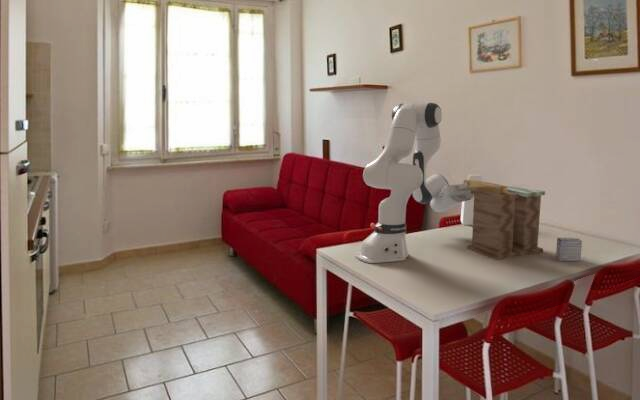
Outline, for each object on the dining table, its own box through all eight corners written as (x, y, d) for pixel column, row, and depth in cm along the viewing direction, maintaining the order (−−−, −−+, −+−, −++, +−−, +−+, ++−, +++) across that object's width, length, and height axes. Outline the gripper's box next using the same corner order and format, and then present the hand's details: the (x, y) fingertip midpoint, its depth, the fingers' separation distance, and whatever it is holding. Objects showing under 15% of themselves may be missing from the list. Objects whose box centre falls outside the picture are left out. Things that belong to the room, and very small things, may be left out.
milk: (483, 220, 260) (485, 173, 255) (486, 225, 249) (488, 176, 244) (460, 220, 262) (462, 173, 257) (462, 225, 251) (464, 176, 246)
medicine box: (575, 258, 191) (577, 237, 190) (580, 261, 187) (582, 240, 186) (555, 258, 192) (556, 237, 191) (559, 261, 188) (561, 240, 186)
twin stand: (496, 259, 191) (499, 196, 186) (466, 248, 207) (469, 190, 203) (542, 252, 200) (546, 191, 196) (510, 241, 217) (514, 185, 212)
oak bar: (499, 193, 191) (499, 186, 191) (463, 186, 211) (463, 180, 211) (506, 193, 193) (507, 185, 192) (470, 186, 213) (470, 179, 212)
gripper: (434, 189, 217) (451, 178, 205) (470, 186, 225) (488, 175, 213) (438, 202, 216) (455, 191, 203) (474, 199, 223) (493, 188, 211)
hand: (472, 183), depth 208 cm, fingers closed on oak bar, 4 cm apart
